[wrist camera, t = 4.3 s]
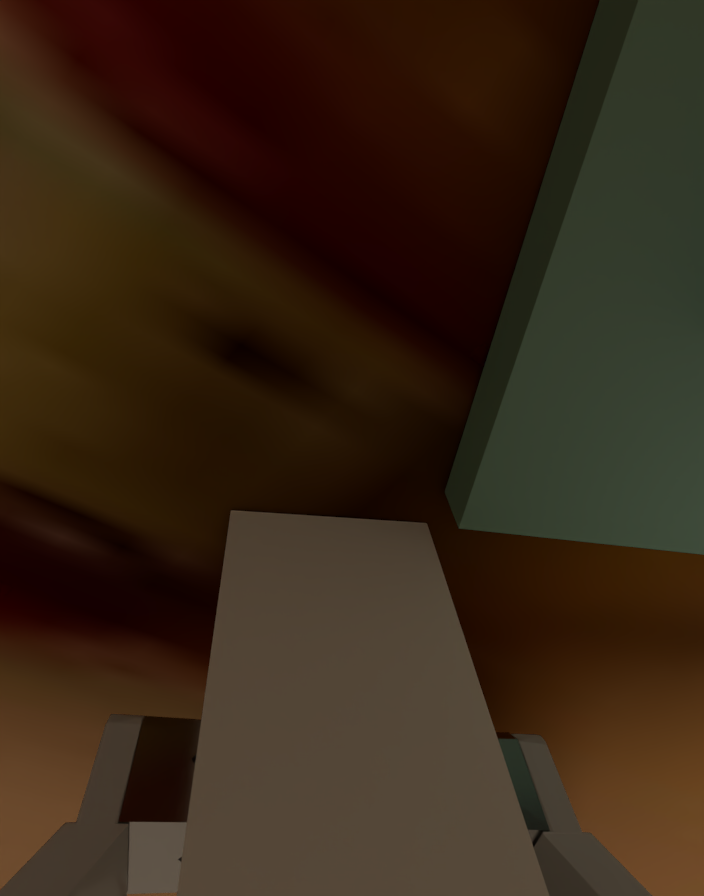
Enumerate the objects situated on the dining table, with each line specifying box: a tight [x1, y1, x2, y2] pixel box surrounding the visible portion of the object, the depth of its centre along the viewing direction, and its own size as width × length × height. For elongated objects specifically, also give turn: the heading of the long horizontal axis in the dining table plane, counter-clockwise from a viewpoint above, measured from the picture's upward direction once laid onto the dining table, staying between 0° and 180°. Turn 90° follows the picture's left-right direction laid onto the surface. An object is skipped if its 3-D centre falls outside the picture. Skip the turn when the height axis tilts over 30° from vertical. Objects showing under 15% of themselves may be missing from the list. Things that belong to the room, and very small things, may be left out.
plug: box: [177, 510, 549, 896], centre depth 10 cm, size 4×4×8 cm
